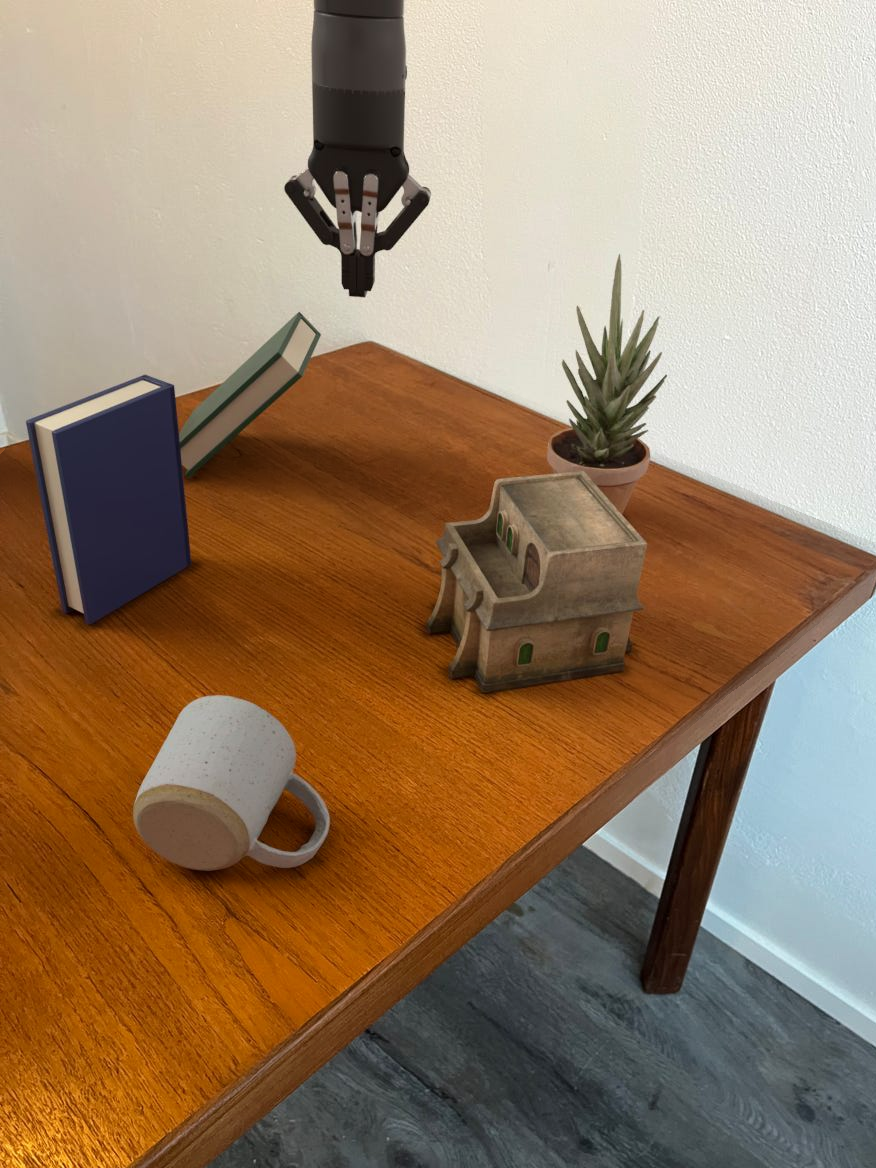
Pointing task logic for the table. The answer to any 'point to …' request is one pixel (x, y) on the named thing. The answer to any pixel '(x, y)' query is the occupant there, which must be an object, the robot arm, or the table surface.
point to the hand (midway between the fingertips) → (358, 294)
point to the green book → (247, 392)
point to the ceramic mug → (223, 788)
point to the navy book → (112, 494)
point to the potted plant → (609, 409)
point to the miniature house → (539, 584)
